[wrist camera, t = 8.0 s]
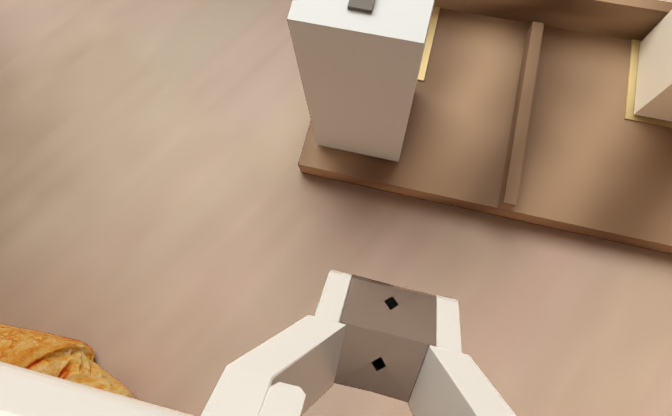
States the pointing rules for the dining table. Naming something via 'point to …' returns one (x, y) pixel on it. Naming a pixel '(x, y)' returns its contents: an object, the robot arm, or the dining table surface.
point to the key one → (360, 69)
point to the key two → (655, 73)
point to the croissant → (56, 358)
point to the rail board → (531, 120)
